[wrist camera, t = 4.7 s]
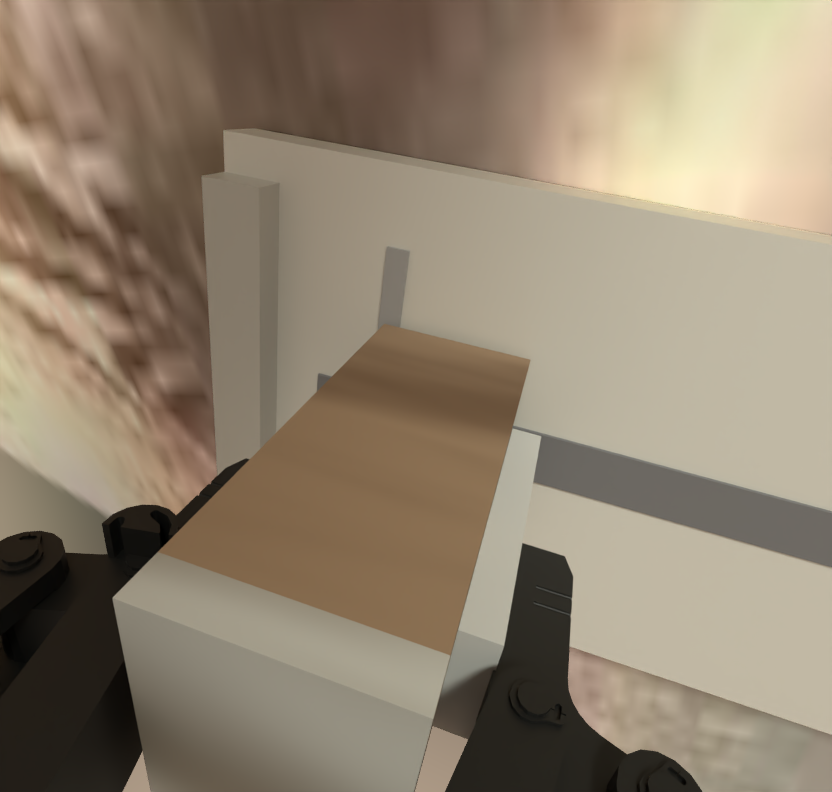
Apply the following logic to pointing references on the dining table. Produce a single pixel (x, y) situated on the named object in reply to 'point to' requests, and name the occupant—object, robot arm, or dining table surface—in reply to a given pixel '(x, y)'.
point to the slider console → (571, 383)
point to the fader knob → (325, 581)
